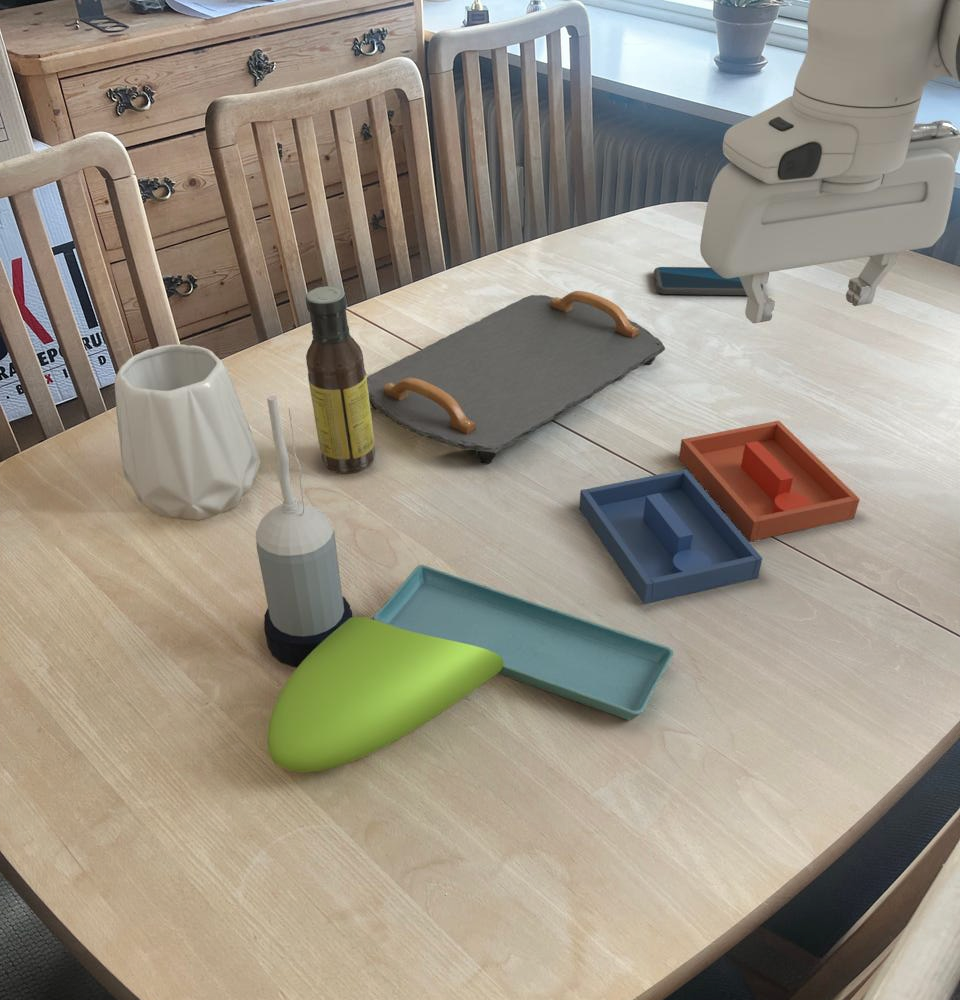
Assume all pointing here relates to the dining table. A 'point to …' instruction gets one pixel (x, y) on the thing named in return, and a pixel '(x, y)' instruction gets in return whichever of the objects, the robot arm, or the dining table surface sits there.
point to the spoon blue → (673, 534)
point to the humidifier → (297, 567)
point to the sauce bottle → (338, 385)
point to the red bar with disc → (771, 478)
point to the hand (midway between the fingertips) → (808, 310)
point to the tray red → (744, 498)
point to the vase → (183, 433)
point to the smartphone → (696, 281)
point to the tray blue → (643, 554)
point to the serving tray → (512, 371)
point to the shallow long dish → (532, 641)
